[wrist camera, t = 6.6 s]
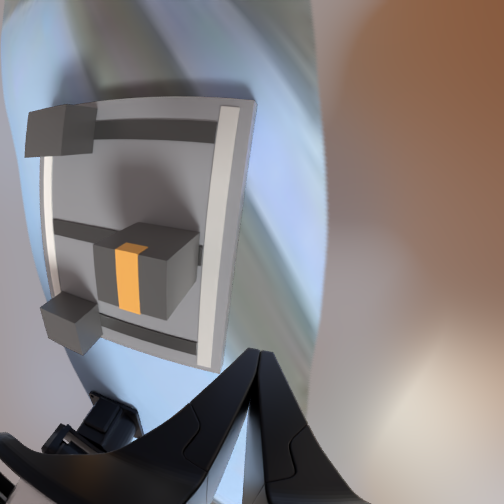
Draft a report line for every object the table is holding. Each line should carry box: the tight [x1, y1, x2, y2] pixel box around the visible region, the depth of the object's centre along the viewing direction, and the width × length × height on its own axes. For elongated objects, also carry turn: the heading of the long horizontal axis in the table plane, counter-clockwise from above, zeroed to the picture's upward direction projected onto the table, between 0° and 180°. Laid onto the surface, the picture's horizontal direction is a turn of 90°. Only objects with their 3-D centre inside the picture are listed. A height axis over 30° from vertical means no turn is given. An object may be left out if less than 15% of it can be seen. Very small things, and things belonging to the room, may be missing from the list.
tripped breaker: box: [93, 222, 200, 321], centre depth 14 cm, size 3×4×5 cm
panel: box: [25, 96, 257, 374], centre depth 16 cm, size 18×16×4 cm
